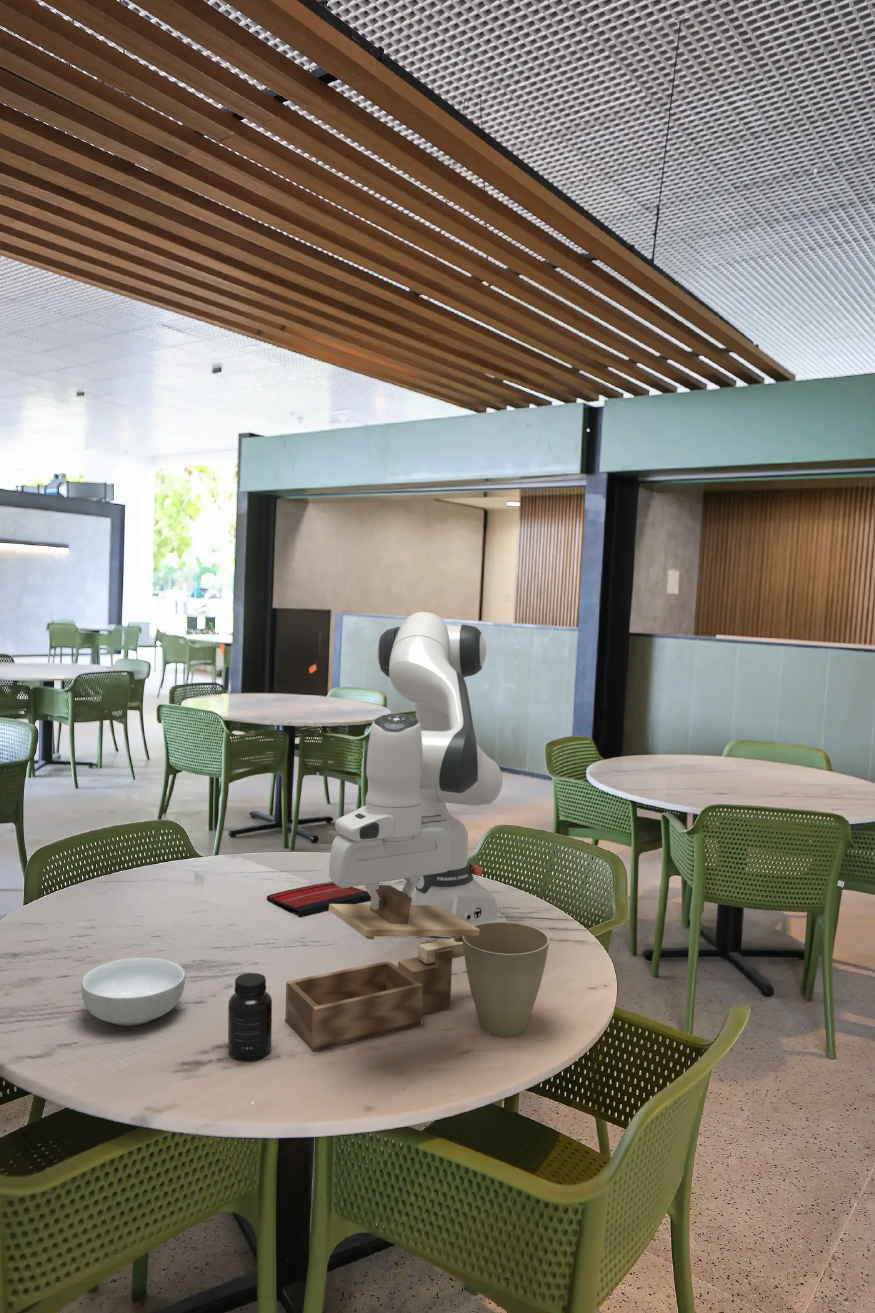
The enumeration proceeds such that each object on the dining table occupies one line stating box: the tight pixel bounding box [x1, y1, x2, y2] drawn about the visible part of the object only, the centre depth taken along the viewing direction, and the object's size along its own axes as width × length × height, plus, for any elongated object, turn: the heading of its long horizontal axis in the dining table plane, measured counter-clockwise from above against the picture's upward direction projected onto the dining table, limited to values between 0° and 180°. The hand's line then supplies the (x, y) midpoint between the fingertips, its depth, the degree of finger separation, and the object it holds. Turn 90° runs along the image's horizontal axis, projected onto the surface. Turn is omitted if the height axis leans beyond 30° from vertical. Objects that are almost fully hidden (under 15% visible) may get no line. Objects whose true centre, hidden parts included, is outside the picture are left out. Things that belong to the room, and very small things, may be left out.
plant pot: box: [462, 921, 550, 1037], centre depth 159 cm, size 15×15×16 cm
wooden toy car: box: [417, 936, 464, 964], centre depth 168 cm, size 9×3×4 cm, turn 122°
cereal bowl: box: [81, 957, 186, 1027], centre depth 159 cm, size 17×17×7 cm
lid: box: [328, 884, 480, 940], centre depth 147 cm, size 21×13×6 cm, turn 122°
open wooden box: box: [284, 939, 453, 1053], centre depth 161 cm, size 28×12×11 cm, turn 122°
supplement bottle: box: [227, 972, 273, 1062], centre depth 148 cm, size 7×7×12 cm
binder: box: [266, 881, 371, 919], centre depth 222 cm, size 16×2×21 cm
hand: (390, 906), depth 145 cm, fingers closed on lid, 3 cm apart
